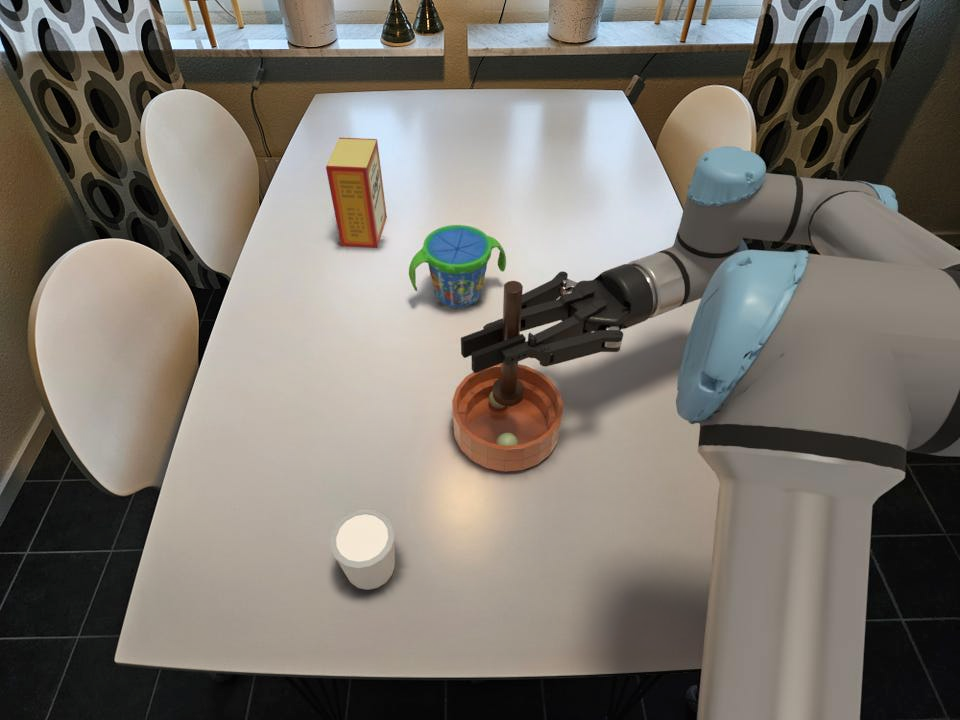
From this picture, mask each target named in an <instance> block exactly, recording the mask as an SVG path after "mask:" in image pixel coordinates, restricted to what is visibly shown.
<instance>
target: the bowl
mask: <svg viewBox="0 0 960 720" xmlns="http://www.w3.org/2000/svg"><path fill="white" fill-rule="evenodd" d="M499 378H501V364H498V365H495V366H493V367H490V368H488V369H485V370H483V371H480V372H477V373H474V372H473V371H472V372H471V373H470V374H467V375H466V376H465V377H464V378H463V380H461V382H460V383H459V385H458V386H457V387H456V388H455V390H454V395H453V397H452V401H451V407H452V408H451V409H452V424H453V425H452V427H453V438H454V440H455V442H456V443H457V445H458V447H459V450H460V451H461V452H463V453H464V455H465V456H466V457H468V458H469V460H471V461H472V462H474V463H476V464H478V465H480V466H482V467H484V468H486V469H489V470H494V471H499V472H515V471H523V470H526V469H529V468H531V467H534V466H537V465H539V464H540V463H541V462H542V461H544V460H545V459H547V457H549V456H550V455H551V454H552V452H553V450H554V449H555V448H556V445H557V444H558V442H559V437H560V431H561V426H562V419H563V418H562V417H563V412H564V411H563V410H564V404H563V399H562V395H561V392H560V391H559V389H558V387H557V386H556V385H555V383H554V381H553V380H552V379H550V378H549V377H548V376H546V374H544V373H542V372H541V371H540V370H537V369H535V368H532V367H530V366H528V365H525V364H519V363H518V371H517V379H519V380H520V381H521V382H522V383H523V385H524V397H523V399H522V401H521V402H520V403H519V404H517V405H515V406H506V407H504V408H502V409H497V408H494V407H493V406H492V405H491V404H490V402H489V395H490V393H491V392H492V391H493V384H494V383H495V382H496V381H497V380H498V379H499ZM503 433H511V434H513V435H514V436H515V437H516V438H517V440H518V445H509V446H504V445H499V444H496V442H497V439H498V437H499V436H500V435H501V434H503Z"/></svg>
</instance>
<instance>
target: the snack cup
mask: <svg viewBox="0 0 960 720" xmlns="http://www.w3.org/2000/svg"><path fill="white" fill-rule="evenodd" d="M494 248H496V249H498V251H499V254H498V258H497V268H498V269H499V271H500V272H505V270H506V267H507V266H506V265H507V258H506V257H507V256H506V252H505V250H504V247H503V246H502V244H501V243H500V242H499V241H498V240H497V239H496V238H494V237H493V236H491V235H490V236H489V235H487V234H486V233H485V232H484V231H482V230H481V229H479V228H477V227H473V226H470V225H465V224H464V225H463V224H451V225H445V226H441V227H439V228H436V229H435V230H433V231H432V232H430V233H429V234H427V236H426V237H425V238H424V241H423V244H422V248H421V249H420V250H418V251H417V252H416V253H415V255H414V256H413V257H412V259H411V261H410V263H409V268H408V277H409V280H410V283H411V285H412V287H413V290H414V291H415V292H418V287H417V284H416V283H417V282H416V275H417V274H416V269H417V268H418V267H419V266H420V265H422V264H424V263H427V264H428V265H427V266H428V270H429V274H430V278H431V282H432V286H433V289H434V293H435V298H436V299H437V300H438V301H440V302H441V303H442V304H444V305H445V306H447V307H451V308H452V309H458V308H466V307H468V306H470V305H472V304H476V303H477V302H478V300H479V298H480V297H481V295H482V293H483V287H484V283H485V279H486V272H487V267H488V266H487V265H488V262H489V261H490V258H491V255H492V250H493V249H494Z"/></svg>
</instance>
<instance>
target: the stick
mask: <svg viewBox="0 0 960 720" xmlns="http://www.w3.org/2000/svg"><path fill="white" fill-rule="evenodd" d="M523 286H524V285H523V284H522V283H521V282H519V281H517V280H510V281H509V280H508V281H506V282H505V283H504V285H503V299H502V300H503V304H502V318H503V330H502V341H504V340H507V339H510V338H512V337H516V336H518V335H520V334H521V332H520V323H521V307H522V294H523V290H524V287H523ZM518 364H519V361H518V362H516V363H513V364H511V365H505V364H504V363H501V378H499V379H498V380H497V381H496V382H495V383H494V384H493V393H492V394H493V398H494V400H495V401H496V402H497V403H498V404H500V405H503V406H515V405H517V404H519V403H520V402H521V401H522V399H523V397H524V385H523V383H522V382H521V381H520V380H519V379H517V371H518Z"/></svg>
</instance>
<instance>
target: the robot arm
mask: <svg viewBox="0 0 960 720" xmlns="http://www.w3.org/2000/svg"><path fill="white" fill-rule="evenodd" d="M898 203H899V202H898V200H897V198H896V192H895V191H894V190H893V188H891V187H889V186H887V185H883V184H875V183H870V182H867V181H863V180H854V181H849V180H838V179H837V180H836V179H827V178H825V179H824V178H813V177H801V176H794V175H789V174H779V173H768V172H767V166H766V163H765V161H764V160H763V158H762V157H761V156H760V155H758V154H757V153H755V152H754V151H751V150H744V149H742V148H741V147H739V146H731V145H730V146H729V145H728V146H727V145H726V146H719V147H714V148H712V149H710V150H708V151H706V152H705V153H703V154H702V156H700V157H699V160H698V161H697V164H696V166H695V169H694V172H693V174H692V178H691V180H690V183H689V184H688V187H687V193H686V199H685V203H684V207H683V210H682V214H681V218H680V222H679V226H678V229H677V232H676V235H675V239H674V243H673V244H672V246H670V247H667V248H664V249H662V250H660V251H656V252H654V253H653V254H652V253H651V254H649V255H646V256H644V257H640V258H637V259H635V260H632V261H629V262H628V263H624V264H621V265H618V266H615V267H612V268H609V269H607V270H604V271H603V272H601V273H600V274H598V275H597V276H596V277H595V278H594V279H591V280H580V281H578V282H577V281H574V280H572V279H570V278H568V277H569V274H568V272H566V271H563V270H562V271H559V272H558V273H557V274H556V275H555V276H554V277H553V278H552V279H550V280H549V281H547V282H545V283H543V284H540V285H539V286H537V287H534V288H533V289H531V290H529V291H527V292H525V293H522V307H521V323H520V335H518V336H516V337H512V338H510V339H507V340H504V341H502V330H503V317H502V318H499V319H497V320H494V321H492V322H488V323H486V324H484V326H483V327H482V329H481V330H478V331H475V332H472V333H470V334H467V335H464V336H461V337H460V354H461V356H462V357H463V358H464V359H465V358H468V357H471V370H472V372H474V373H477V372H480V371H483V370H485V369H488V368H490V367H493V366H495V365H498V364H501V363H504V364H505V365H511V364H513V363H516V362H518V363H519V362H521V361H524V360H526V359H535V360H537V361H538V362H539V365H540V366H541V367H545V368H546V367H547V368H548V367H551V366H554V365H557V364H562V363H565V362H570V361H572V360H577V359H580V358H583V357H587V356H591V355H595V354H599V353H618V352H619V351H620V350H621V347H622V344H623V343H622V342H623V338H624V332H623V331H622V330H626V329H629V328H631V327H633V326H636V325H639V324H640V323H641V324H642V323H644V322H646V321H647V320H648V319H653V318H655V317H658V316H661V315H663V314H666V313H668V312H670V311H673V310H675V309H678V308H680V307H683V306H684V305H686V304H689V303H692V302H695V301H698V300H700V301H699V303H698V306H697V309H696V312H695V315H694V318H693V320H692V323H691V326H690V330H689V332H688V336H687V340H686V344H685V346H684V351H683V354H682V360H681V363H680V367H679V373H678V378H677V386H676V391H677V393H676V399H675V407H676V412H677V414H678V416H679V417H680V418H681V419H683V420H684V421H687V422H688V423H689V424H691V425H695V424H699V435H698V445H697V453H698V454H699V455H700V456H701V458H702V459H703V461H704V462H706V464H707V465H708V466H709V468H710V469H711V470H712V471H713V472H714V473H715V475H716V478H717V480H718V493H717V503H716V513H715V524H714V533H713V534H714V535H713V537H714V538H713V546H712V555H711V564H710V565H711V566H710V575H709V576H710V577H709V587H708V588H709V589H708V596H707V597H708V598H707V607H706V618H705V628H704V629H705V631H704V640H703V650H702V659H701V660H702V661H701V662H702V663H701V671H700V681H699V692H698V700H697V701H698V702H697V711H696V720H861V707H862V706H861V705H862V690H863V689H862V688H863V686H862V685H863V671H864V653H865V639H866V638H865V636H866V619H867V606H868V605H867V603H868V588H869V587H868V585H869V570H870V555H871V554H870V552H871V538H872V537H871V536H872V535H871V534H872V518H873V505H874V504H875V502H876V501H877V500H878V499H879V498H880V497H881V496H882V495H884V494H885V493H887V492H889V491H890V490H891V489H892V488H893V487H895V486H896V485H898V484H899V483H901V482H902V481H903V480H904V479H905V478H906V463H907V452H908V453H915V454H923V455H931V456H937V457H960V250H959V249H958V248H957V247H955V246H953V245H951V244H949V243H948V242H946V241H945V240H943V239H942V238H940V237H938V236H937V235H935V234H933V233H932V232H930V231H929V230H928V229H925V228H924V227H922V226H921V225H919V224H918V223H916V222H914V221H913V220H911V219H909V218H908V217H907V216H905V215H903V214H902V213H900V212H899V204H898ZM744 239H748V240H749V239H750V240H758V241H759V240H760V241H767V242H768V241H769V242H776V243H784V244H785V243H786V244H794V245H805V246H811V247H812V248H813V249H815V250H816V251H817V252H818V253H819V254H817V253H816V254H815V253H809V251H808V250H805V249H797V250H794V251H776V250H775V251H774V250H761V249H760V250H759V249H749V248H748V246H747V244H746V242H745V241H744ZM558 321H560V322H558ZM555 322H558V323H556V324H554V325H552V326H549V327H547V328H546V329H544V330H541V331H539V332H537V333H534V334H533V333H532V332H531V331H530V332H529V333H528V334H527V340H526V336H525V335H524V334H523V333H521V332H525V331H528V330H531V329H535V328H538V327H541V326H542V327H543V326H545V325H548V324H552V323H555Z"/></svg>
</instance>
